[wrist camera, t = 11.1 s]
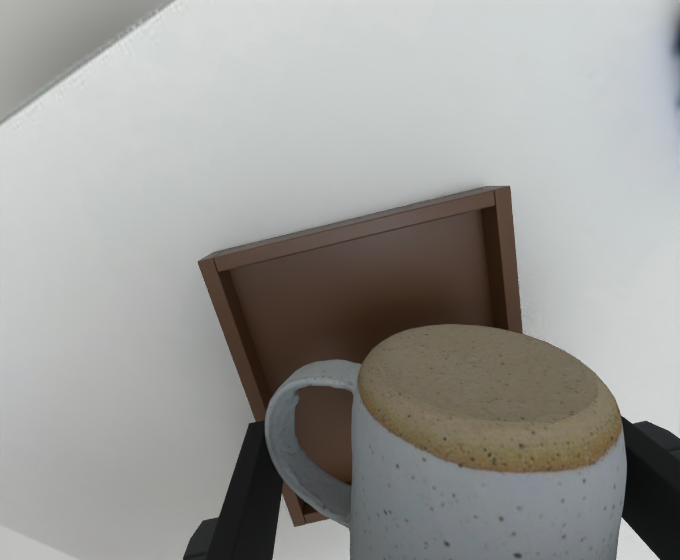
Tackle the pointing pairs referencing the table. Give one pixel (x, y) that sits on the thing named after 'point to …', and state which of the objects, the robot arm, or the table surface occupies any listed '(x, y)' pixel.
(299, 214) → the table surface
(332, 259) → the brown tray
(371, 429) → the ceramic mug
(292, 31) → the table surface
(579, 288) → the table surface
